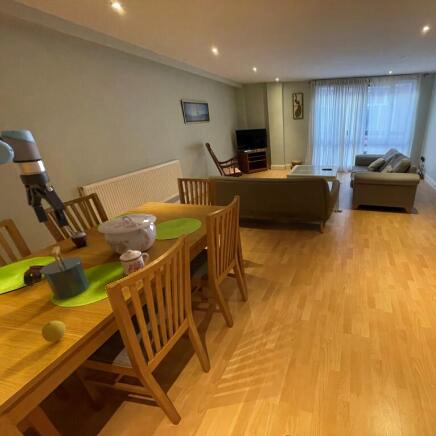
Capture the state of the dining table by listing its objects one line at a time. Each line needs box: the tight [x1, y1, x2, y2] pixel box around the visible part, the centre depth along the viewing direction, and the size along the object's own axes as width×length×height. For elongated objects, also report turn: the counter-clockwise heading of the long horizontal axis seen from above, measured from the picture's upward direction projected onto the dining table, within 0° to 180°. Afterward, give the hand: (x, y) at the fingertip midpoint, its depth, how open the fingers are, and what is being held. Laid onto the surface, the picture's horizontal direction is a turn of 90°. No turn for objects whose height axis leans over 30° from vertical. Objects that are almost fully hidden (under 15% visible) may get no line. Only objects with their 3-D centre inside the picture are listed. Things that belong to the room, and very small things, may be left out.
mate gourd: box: [63, 226, 88, 249], centre depth 140 cm, size 8×8×15 cm
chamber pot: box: [97, 213, 157, 255], centre depth 135 cm, size 28×28×21 cm
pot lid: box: [40, 245, 83, 276], centre depth 99 cm, size 13×13×8 cm
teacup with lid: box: [119, 250, 150, 276], centre depth 117 cm, size 12×9×12 cm
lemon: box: [41, 320, 67, 343], centre depth 80 cm, size 6×6×8 cm
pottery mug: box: [22, 264, 45, 286], centre depth 111 cm, size 12×10×8 cm
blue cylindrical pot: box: [43, 262, 90, 300], centre depth 103 cm, size 12×12×13 cm
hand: (54, 223), depth 99 cm, fingers open, 13 cm apart
